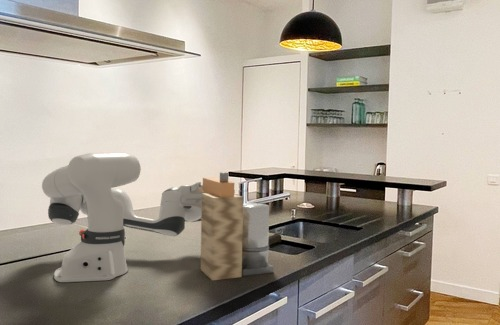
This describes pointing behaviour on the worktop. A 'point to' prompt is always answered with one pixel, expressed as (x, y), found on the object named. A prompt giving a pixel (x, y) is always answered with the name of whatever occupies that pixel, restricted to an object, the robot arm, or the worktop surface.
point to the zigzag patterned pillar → (221, 236)
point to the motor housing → (255, 239)
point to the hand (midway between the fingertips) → (211, 183)
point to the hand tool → (274, 239)
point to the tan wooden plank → (219, 186)
